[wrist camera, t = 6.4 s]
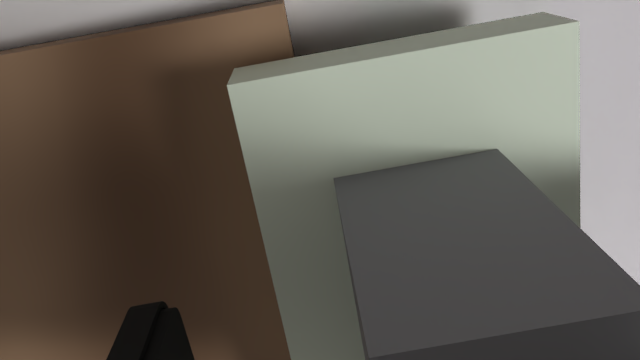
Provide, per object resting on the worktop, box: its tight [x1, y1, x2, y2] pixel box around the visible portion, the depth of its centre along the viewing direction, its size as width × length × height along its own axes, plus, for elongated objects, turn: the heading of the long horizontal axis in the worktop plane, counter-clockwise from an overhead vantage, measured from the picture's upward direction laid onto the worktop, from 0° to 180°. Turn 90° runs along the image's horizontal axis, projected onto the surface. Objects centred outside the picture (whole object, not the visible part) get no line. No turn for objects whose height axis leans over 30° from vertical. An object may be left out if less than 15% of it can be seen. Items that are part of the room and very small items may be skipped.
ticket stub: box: [227, 12, 640, 360], centre depth 10 cm, size 6×9×6 cm, turn 10°
